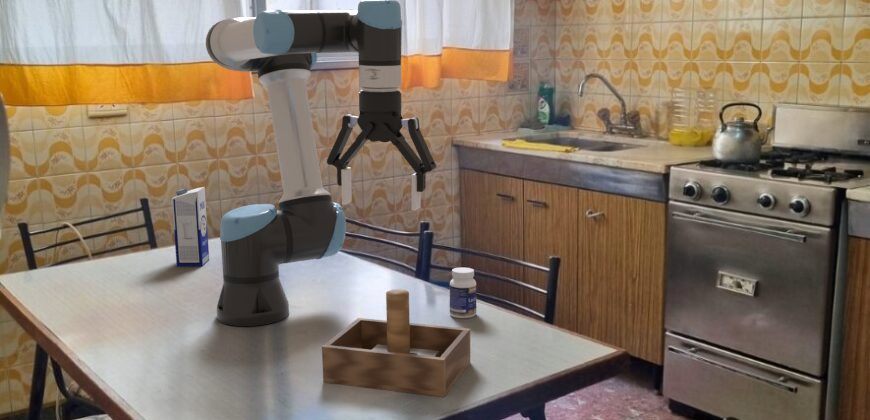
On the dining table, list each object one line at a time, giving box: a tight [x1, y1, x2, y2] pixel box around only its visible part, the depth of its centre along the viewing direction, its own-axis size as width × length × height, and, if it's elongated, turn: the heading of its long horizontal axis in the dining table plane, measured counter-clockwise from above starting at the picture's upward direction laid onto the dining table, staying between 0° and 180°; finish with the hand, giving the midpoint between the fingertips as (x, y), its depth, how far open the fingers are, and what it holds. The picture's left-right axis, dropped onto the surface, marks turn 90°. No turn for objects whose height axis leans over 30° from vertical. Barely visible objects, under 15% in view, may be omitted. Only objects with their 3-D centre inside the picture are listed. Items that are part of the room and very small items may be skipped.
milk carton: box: [171, 186, 210, 268], centre depth 231 cm, size 7×7×20 cm
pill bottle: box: [449, 267, 477, 319], centre depth 188 cm, size 6×6×10 cm
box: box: [321, 317, 471, 398], centre depth 157 cm, size 22×16×6 cm
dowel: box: [385, 288, 411, 354], centre depth 156 cm, size 4×4×14 cm
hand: (381, 206), depth 161 cm, fingers open, 13 cm apart
